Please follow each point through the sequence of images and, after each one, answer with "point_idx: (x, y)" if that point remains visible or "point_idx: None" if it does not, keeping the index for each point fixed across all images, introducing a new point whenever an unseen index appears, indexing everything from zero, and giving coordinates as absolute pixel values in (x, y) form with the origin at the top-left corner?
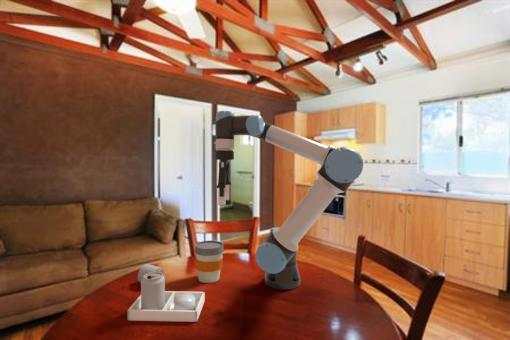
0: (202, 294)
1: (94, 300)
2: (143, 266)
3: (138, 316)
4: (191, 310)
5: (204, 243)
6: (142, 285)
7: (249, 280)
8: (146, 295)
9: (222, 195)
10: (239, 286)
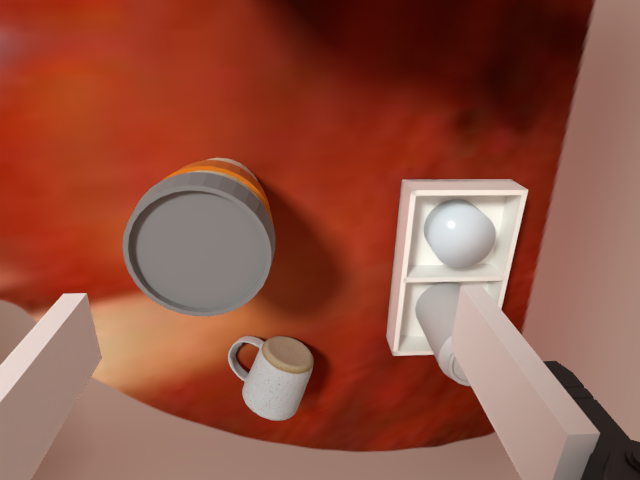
0: (427, 194)
1: (375, 434)
2: (283, 416)
3: None
4: (476, 207)
5: (160, 281)
6: None
7: (222, 22)
8: None
9: (567, 381)
10: (283, 67)
